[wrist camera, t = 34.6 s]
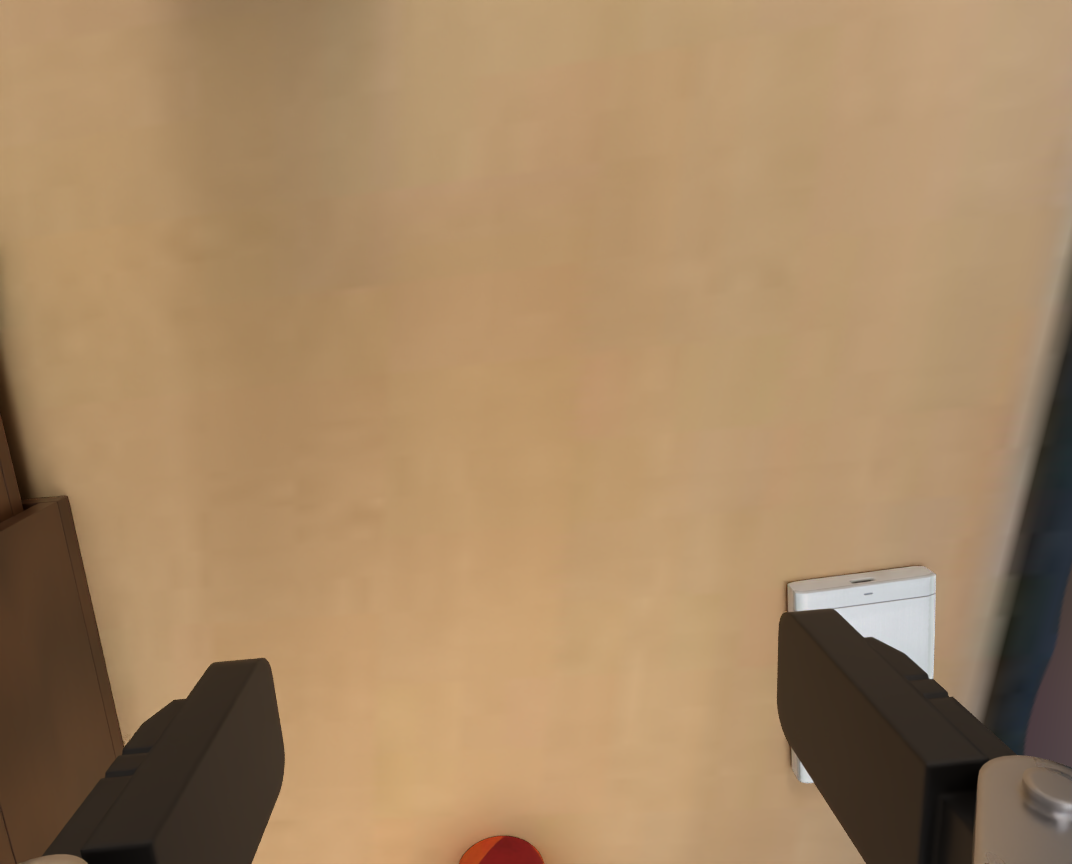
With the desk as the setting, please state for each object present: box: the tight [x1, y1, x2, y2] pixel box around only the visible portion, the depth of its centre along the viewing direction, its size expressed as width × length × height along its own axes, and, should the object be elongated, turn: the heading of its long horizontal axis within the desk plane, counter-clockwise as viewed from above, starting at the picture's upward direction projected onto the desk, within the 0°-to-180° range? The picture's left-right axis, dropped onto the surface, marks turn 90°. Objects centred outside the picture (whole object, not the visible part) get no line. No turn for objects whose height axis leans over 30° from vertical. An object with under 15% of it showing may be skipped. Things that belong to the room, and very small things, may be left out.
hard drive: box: [787, 566, 936, 783], centre depth 41 cm, size 2×8×12 cm
